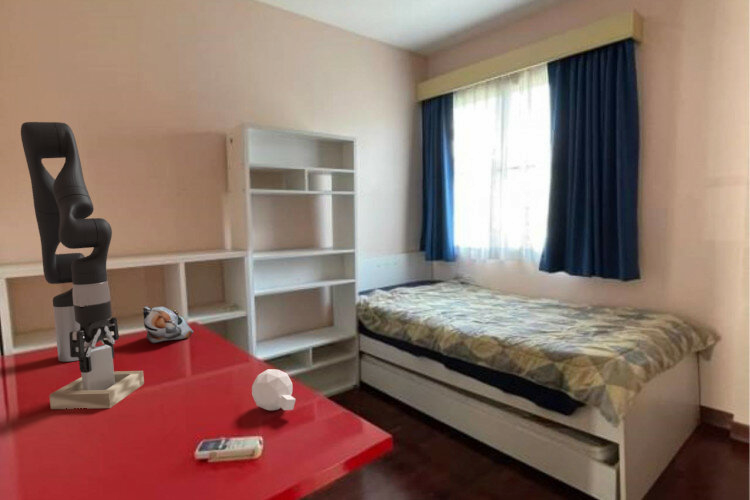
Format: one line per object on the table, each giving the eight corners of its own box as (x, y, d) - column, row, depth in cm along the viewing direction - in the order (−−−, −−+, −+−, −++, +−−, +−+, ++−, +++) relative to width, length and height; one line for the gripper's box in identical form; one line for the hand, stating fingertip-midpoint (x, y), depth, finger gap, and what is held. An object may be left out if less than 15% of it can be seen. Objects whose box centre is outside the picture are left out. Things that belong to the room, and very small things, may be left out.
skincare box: (110, 389, 110) (106, 343, 109) (116, 393, 107) (112, 346, 106) (82, 397, 105) (77, 349, 104) (88, 402, 102) (83, 352, 101)
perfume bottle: (239, 401, 96) (266, 425, 87) (251, 361, 96) (279, 382, 88) (272, 400, 102) (300, 423, 93) (283, 363, 102) (312, 382, 94)
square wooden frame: (91, 384, 113) (90, 372, 113) (144, 383, 113) (143, 370, 112) (50, 409, 99) (49, 394, 99) (110, 408, 99) (108, 393, 98)
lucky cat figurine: (201, 335, 157) (191, 303, 148) (169, 359, 147) (156, 326, 139) (172, 318, 164) (160, 286, 155) (140, 340, 155) (126, 307, 146)
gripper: (96, 295, 111) (102, 355, 113) (54, 307, 97) (61, 377, 98) (125, 294, 111) (130, 355, 112) (87, 307, 97) (93, 376, 98)
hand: (98, 365), depth 105 cm, fingers open, 8 cm apart
